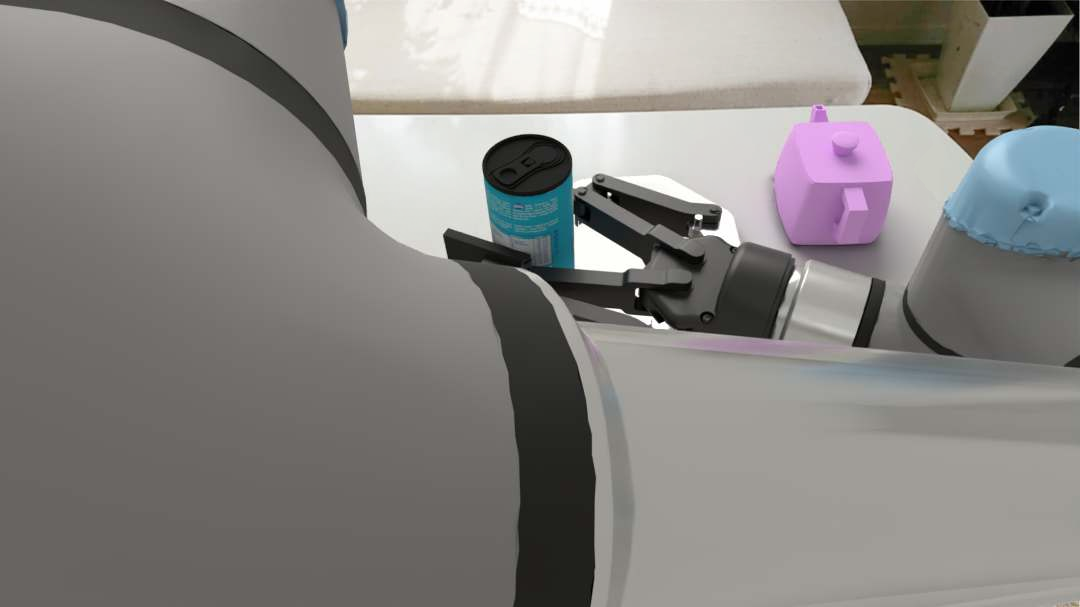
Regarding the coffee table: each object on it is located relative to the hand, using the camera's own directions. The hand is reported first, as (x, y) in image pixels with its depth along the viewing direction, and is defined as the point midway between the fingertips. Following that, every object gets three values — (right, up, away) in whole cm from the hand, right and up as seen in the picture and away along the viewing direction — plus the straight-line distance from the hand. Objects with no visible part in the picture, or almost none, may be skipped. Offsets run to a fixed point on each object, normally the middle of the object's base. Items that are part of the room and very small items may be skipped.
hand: (471, 214), depth 55 cm
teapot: (+37, +4, +29) cm, 47 cm away
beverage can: (+5, -7, +5) cm, 10 cm away
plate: (+15, -2, +26) cm, 30 cm away
